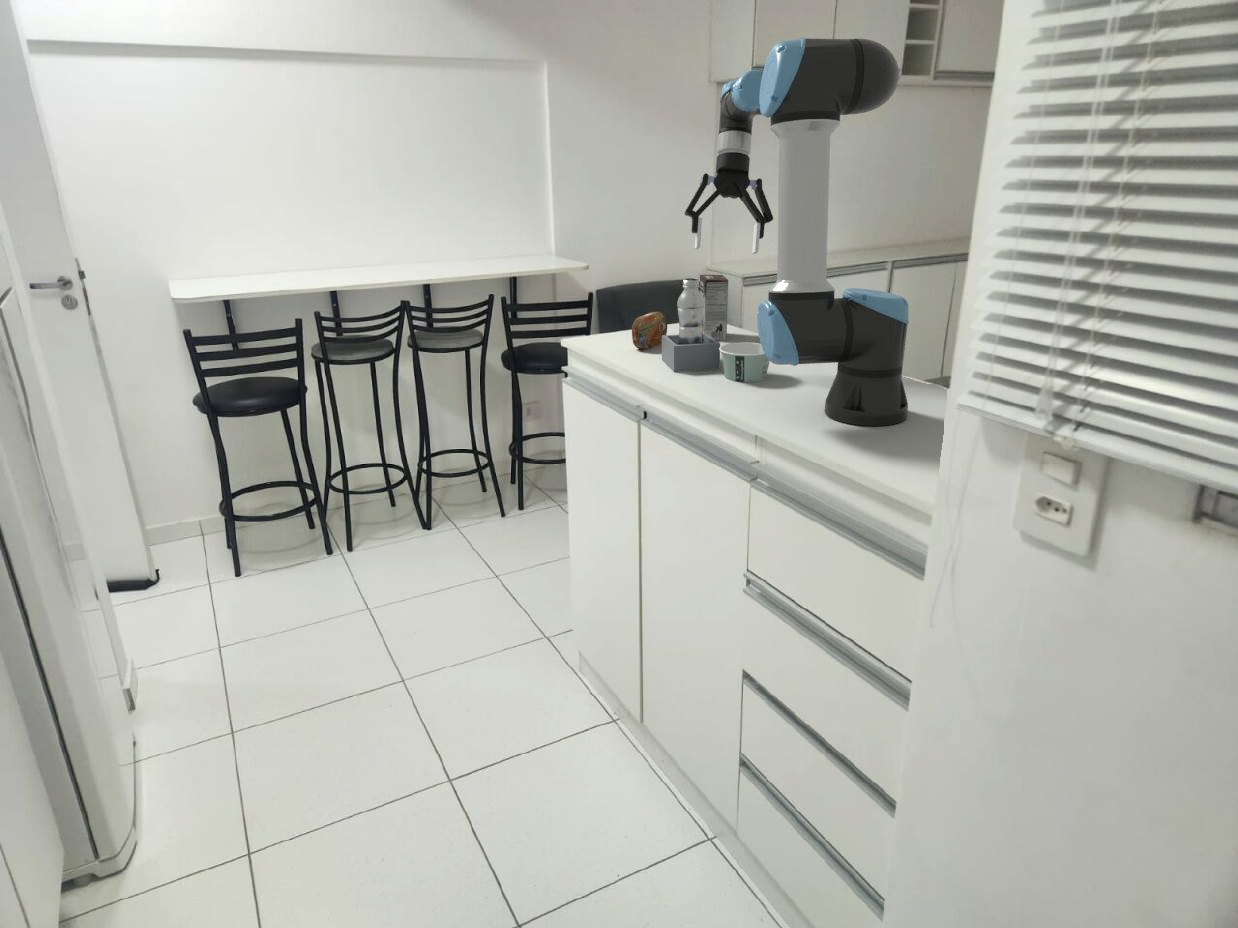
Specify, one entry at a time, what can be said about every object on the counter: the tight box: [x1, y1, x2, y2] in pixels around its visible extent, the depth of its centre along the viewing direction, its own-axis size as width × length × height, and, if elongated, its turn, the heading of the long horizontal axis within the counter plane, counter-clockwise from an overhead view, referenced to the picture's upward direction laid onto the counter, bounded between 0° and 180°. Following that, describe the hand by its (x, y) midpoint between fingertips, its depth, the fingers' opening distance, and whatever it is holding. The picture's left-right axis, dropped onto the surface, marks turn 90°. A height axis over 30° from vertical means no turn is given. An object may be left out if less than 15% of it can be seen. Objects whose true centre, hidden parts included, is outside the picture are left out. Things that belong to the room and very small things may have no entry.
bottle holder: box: [661, 333, 721, 373], centre depth 191 cm, size 12×11×6 cm
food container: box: [719, 341, 770, 383], centre depth 179 cm, size 12×12×6 cm
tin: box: [631, 311, 668, 350], centre depth 210 cm, size 15×3×8 cm, turn 148°
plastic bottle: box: [676, 277, 705, 345], centre depth 188 cm, size 6×7×20 cm
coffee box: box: [699, 274, 729, 341], centre depth 217 cm, size 9×6×16 cm
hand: (726, 250), depth 185 cm, fingers open, 13 cm apart
